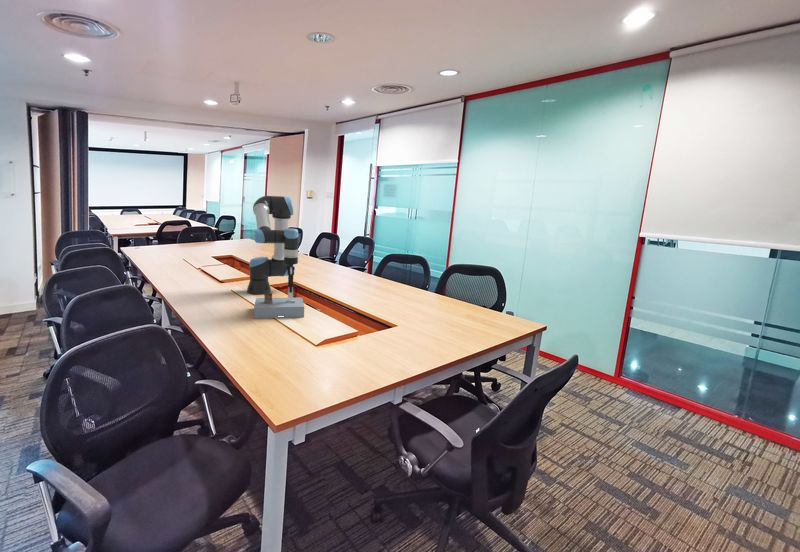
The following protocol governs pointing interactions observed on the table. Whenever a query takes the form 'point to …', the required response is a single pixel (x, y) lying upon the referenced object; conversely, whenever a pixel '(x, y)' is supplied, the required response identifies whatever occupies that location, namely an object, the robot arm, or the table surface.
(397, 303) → the table surface
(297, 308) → the socket block
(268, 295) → the dark peg
